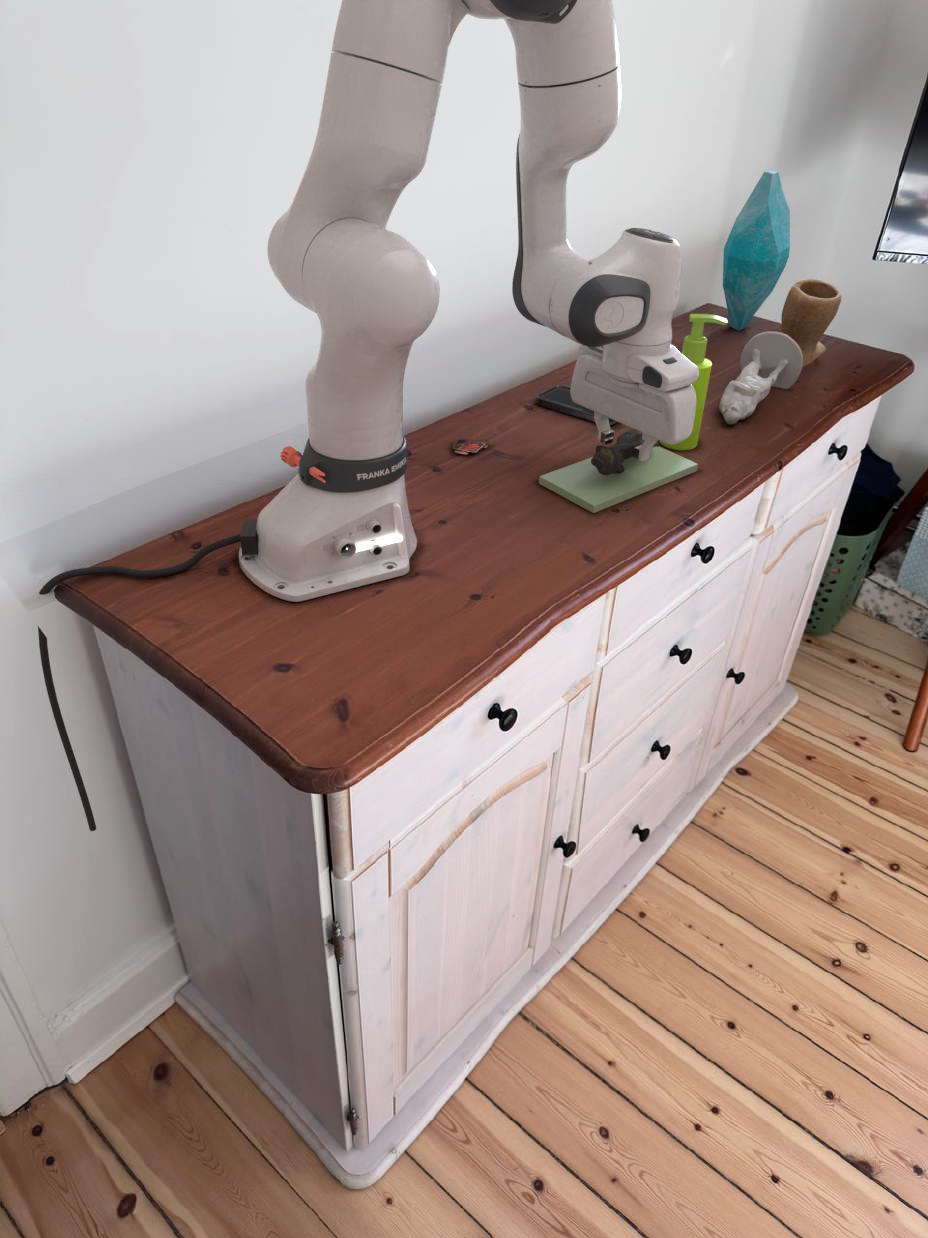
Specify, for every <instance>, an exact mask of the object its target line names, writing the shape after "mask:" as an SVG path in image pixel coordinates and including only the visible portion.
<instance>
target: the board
mask: <svg viewBox="0 0 928 1238" xmlns="http://www.w3.org/2000/svg"><path fill="white" fill-rule="evenodd" d="M592 458H593V456H591V457H588V458H585V459H584V460H580V461H578V462H575V463H573V464H569V465H567V466H564V467H561V468H559V469H556V470H553V471H550V472H547V473H544V474H542V475H539V476H538V478H539V479H538V484H539V485H540V486H543V487H544V488H546V489H548V490H550V491H552V492H554V493H555V494H557V495H559V496H561V497H563V498H564V499H566V500H568V501H570V502H572V503H574V504H576V505H578V507H581V508H583V509H585V510H586V511H589V512H590V513H592V514H595V513H598V512H600V511H603V510H605V509H607V508H611V507H612V506H615V505H617V504H620V503H622V502H625V501H627V500H630V499H632V498H635V497H637V496H639V495H642V494H645V493H646V492H649V491H652V490H654V489H656V488H659V487H662V486H664V485H667V484H669V483H671V482H674V481H677V480H678V479H679V480H680V479H681V478H684V477H686V476H688V475H691V474H694V473H696V472H698V467H699V464H698V463H697V462H694V461H692V460H691V459H688V458H686V457H683V456H681V455H679V454H678V453H675V452H672V451H670V450H668V449H667V448H664V447H662V446H659V447H656V446H655V447H652V448H651V449H650V456H649V458H648V460H646V461H643V462H642V461H639V460H637V459H635V458H634V457H631V458H629V459H626V460H624V461H623V463H622V465H623V467H624V469H625V470H624V472H622V473H619V474H617V473H615V474H613V473H612V474H609V475H602V474H601V473H599V472H598V470H597V468H596V467H595V466H594V465H592V464H591V459H592Z"/></svg>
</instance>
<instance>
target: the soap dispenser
mask: <svg viewBox="0 0 928 1238" xmlns="http://www.w3.org/2000/svg"><path fill="white" fill-rule="evenodd" d="M689 323H692V324H691V325H692V326H691V330H690V333H689V334H688V335H686V336H684V339H683V344H682V345H683V346H682V350H681V354H682V355H684V356H685V357H686V358H687V359H688V360H689V361H691V362H692V363H693V364H694V365H696V366H697V368H698V369H699V376H698V379H697V381H696V382H694V383H692V384H691V385H692V386H693V388H694V390H695V393H696V410H695V418H694V424H693V429H692V433H691V435H690V436H689V437H688V438H687V439H686V440H684V441H682V442H679V443H676V444H673V445H669V444H667V443H665V442H662V441H660V440H659V444H661V445H662V446H663V447H665V448H666V449H670V450H674V451H690V450H694V449H695V448H696V447H697V446H698V442H699V438H700V437H699V436H700V431H701V425H702V420H703V415H704V409H705V405H706V399H707V395H708V394H707V393H708V388H709V382H710V378H711V372H712V366H713V363H712V361H711V360H710V359H708V358H705V357H706V351H707V346H708V338H707V337H705V335H703V334H704V330H705V323H713V324H717V325H721V326H726V325H728V319H727V318H726V317H723V316H720V315H716V314H709V313H690V314H689Z"/></svg>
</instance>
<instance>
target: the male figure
mask: <svg viewBox="0 0 928 1238" xmlns="http://www.w3.org/2000/svg"><path fill="white" fill-rule="evenodd" d="M802 364H803V355H802V352H801V349H800V347H799V346H798V344H797V343H796V342H795V341H794V340H793V339H792V338H791V337H789V336H788V335H786V334H784V333H781V331H780V332H779V331H771V330H770V331H769V330H768V331H762V332H760V333H757V334H755V335H754V336H753V337H751V338H750V339H749V340H748V341H747V342H746V344H745V346H744V348H743V349H742V352H741V355H740V358H739V365H740V371H741V372H740V374H739V375H738V376H737V377H736V378H735V380H730V381H729V383H728V384H727V386H726V387H725V389H724V391H723V393H722V396H721V398H720V400H719V401H720V402H719V407H718V408H719V411H720V413H721V415H722V416H723V418H724V421H725V423H726V424H727V425H735V424H737V423H738V421H740V420H745V419H746V418H749V417H750V416H751V415H752V414H753V413H754V412H755V410H756V407H757V406H758V403H760V402H762V401H763V400H765V398H766V397H767V396H768V395H769V394H770V392H771V387H774V388H778V389H779V388H780V389H783V390H789V389H790V388H791V387H793V385H794V384H795V383H796V382H797V380H798V379H799V377H800V375H801V372H802V369H803V367H802Z"/></svg>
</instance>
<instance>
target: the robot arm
mask: <svg viewBox="0 0 928 1238" xmlns="http://www.w3.org/2000/svg"><path fill="white" fill-rule="evenodd" d="M467 15H468V16H471V17H473V18H476V19H479V20H480V19H481V20H503V21H504V22H505V24H506V26H507V27H508V29H509V32H510V34H511V37H512V40H513V43H514V47H515V64H516V65H515V66H516V76H517V86H518V96H519V107H520V127H519V128H520V130H519V134H518V138H517V144H516V152H515V153H516V154H515V181H516V182H515V183H516V205H517V209H516V210H517V211H516V212H517V232H518V233H517V234H518V235H517V236H518V237H517V238H518V247H517V254H516V255H517V256H516V261H515V265H514V267H515V268H514V270H513V271H514V272H513V276H512V283H511V286H512V287H511V293H512V299H513V302H514V305H515V307H516V309H517V311H518V313H519V314H520V315H521V316H522V317H523V318H525V319H526V320H527V321H529V322H532V323H534V324H537V325H540V326H542V327H545V328H548V329H550V330H551V331H552V332H553V331H554V332H555V333H557V334H559V335H560V336H563V337H564V338H568V339H569V340H571V341H573V342H575V343H577V344H579V347H578V352H577V360H576V362H575V365H574V368H573V373H572V378H571V383H570V388H571V389H570V395H571V398H572V400H573V402H575V403H577V404H579V405H581V406H583V407H586V408H588V409H590V410H592V411H595V412H594V419H595V422H594V423H595V426H596V429H597V431H598V434H597V441H598V442H599V443H601V444H604V446H607V445H608V444H609V445H610V444H612V443H613V442H614V436H615V430H613V429H611V426H610V425H609V420H608V418H611V419H613V420H615V421H617V423H619V424H621V425H624V426H626V427H629V428H630V429H632V430H637V431H638V432H639V433H641V435H642V439H643V440H645V441H644V443H643V444H642V445H640V446H637V447H635V449H634V453H635V454H634V456H633V457H634V458H635V459H637V460H639V461H642V462H643V461H646V460H648V458H649V456H650V449H651V448H652V447H653V446H654V444H655V443H656V442H657V441H658V442H660V441H662V442H665V443H667V444H669V445H673V444H676V443H679V442H682V441H684V440H686V439H687V438H688V437H689V436H690V435H691V433H692V429H693V424H694V418H695V410H696V393H695V390H694V388H693V386H692V385H691V384H692V383H694V382H696V381H697V379H698V376H699V369H698V368H697V366H696V365H694V364H693V363H692V362H691V361H689V360H688V359H687V358H686V357H685V356H684V355H682V352H681V351H680V350H678V348H676V346H675V345H673V343H672V340H673V328H672V322H673V321H672V320H673V316H674V314H675V312H676V309H677V306H678V302H679V297H680V288H681V282H682V281H681V280H682V268H683V267H682V266H683V263H682V261H683V260H682V259H683V257H682V249H681V245H680V243H679V242H678V241H677V239H676V238H674V237H673V236H670V235H668V234H666V233H663V232H659V231H655V230H652V229H648V228H641V227H631V228H627V229H624V230H623V231H622V233H621V236H620V237H619V238H618V240H617V241H616V242H615V243H614V244H613V245H612V246H611V247H610V248H608V249H607V250H606V251H604V252H603V253H601V254H600V255H598V256H596V257H594V258H592V259H588V258H585V257H582V256H580V255H578V254H577V252H576V251H575V250H574V249H573V247H572V245H571V244H570V242H569V239H568V236H567V184H568V183H567V182H568V177H569V173H570V171H571V169H572V167H573V166H574V165H575V164H577V163H578V162H580V161H582V160H585V159H586V158H589V157H591V156H593V155H594V154H595V153H597V152H598V151H599V150H600V149H601V148H603V146H604V145H605V144H606V143H607V142H608V140H609V139H610V138H611V137H612V135H613V133H614V131H615V130H616V127H617V126H618V122H619V118H620V112H621V102H622V84H621V83H622V82H621V64H620V62H621V61H620V49H619V40H618V30H617V23H616V16H615V15H616V14H615V9H614V4H613V0H341V4H340V7H339V12H338V17H337V21H336V26H335V30H334V35H333V41H332V47H331V53H330V56H329V57H330V58H329V63H328V70H327V77H326V81H325V86H324V87H325V88H324V94H323V99H322V104H321V111H320V117H319V121H318V122H319V123H318V128H317V131H316V135H315V136H316V137H315V140H314V144H313V146H312V150H311V153H310V157H309V160H308V162H307V165H306V168H305V170H304V173H303V176H302V178H301V181H300V183H299V185H298V188H297V190H296V192H295V195H294V198H293V200H292V202H291V204H290V206H289V208H288V209H287V210H286V211H285V212H284V213H282V215H281V216H279V218H278V219H277V220H276V222H275V223H274V225H273V226H272V228H271V231H270V234H269V236H268V240H267V249H266V250H267V261H268V263H269V266H270V269H271V271H272V273H273V275H274V276H275V278H276V280H277V281H278V283H279V284H280V286H281V287H282V288H283V289H284V290H285V292H286V293H287V295H288V296H290V298H291V299H293V300H294V301H295V302H296V303H298V304H300V305H301V306H303V307H304V308H306V309H308V310H309V311H310V312H311V311H312V312H313V313H314V314H316V315H317V318H318V321H319V324H320V330H321V332H320V333H321V335H320V336H321V337H320V343H319V351H318V356H317V359H316V363H315V364H314V365H313V366H312V367H311V368H310V370H309V371H308V373H307V375H306V377H305V383H304V385H305V397H306V398H305V401H306V411H307V425H308V438H307V440H306V443H305V446H304V449H303V452H302V453H301V452H300V451H298V450H296V449H295V448H294V447H293V446H290V445H288V446H284V447H283V448H282V450H281V451H280V456H279V457H280V460H281V461H282V462H283V463H285V464H287V465H288V466H289V467H290V468H296V467H298V470H297V474H296V475H295V476H294V477H293V478H292V479H291V480H290V481H289V482H288V483H287V484H286V485H285V487H283V488H282V489H281V490H280V491H279V492H278V494H276V496H274V497H273V499H271V500H270V501H269V502H268V503H267V504H266V505H265V506H264V507H263V508H262V509H261V510H260V512H259V513H258V517H257V519H255V518H254V519H253V518H251V519H244V520H243V524H242V527H241V531H240V533H238V534H235V535H232V536H229V537H225V538H222V539H219V540H216V541H214V542H212V543H210V544H208V545H205V546H204V547H202V548H201V549H200V550H198V551H197V552H196V553H195V554H194V555H192V557H191V558H190V559H188V560H186V561H184V562H182V563H179V564H177V565H173V566H169V567H165V568H164V567H163V568H157V569H156V568H155V569H134V568H128V567H124V566H117V565H106V566H105V565H104V566H92V567H82V568H75V569H70V570H66V571H63V572H61V573H59V574H57V575H55V576H53V577H52V578H51V579H49V580H48V581H47V582H46V583H45V584H44V585H43V586H42V588H41V589H40V590H39V593H38V594H39V595H47V594H49V593H50V592H51V591H52V590H53V589H54V588H56V586H58V585H59V584H60V583H62V582H64V581H67V580H69V579H73V578H77V577H84V576H94V575H95V576H96V575H105V574H108V575H109V574H115V575H116V574H117V575H121V576H126V577H131V578H133V577H134V578H139V579H140V578H141V579H143V578H158V577H159V578H160V577H166V576H172V575H176V574H179V573H182V572H184V571H187V570H189V569H191V568H193V567H194V566H195V565H197V564H198V563H199V562H200V561H202V559H203V558H205V556H207V555H208V554H210V553H212V552H214V551H216V550H219V549H221V548H224V547H227V546H230V545H234V544H237V543H239V542H240V548H239V551H238V565H239V567H240V569H241V571H242V572H243V573H244V575H245V576H246V577H247V578H248V579H249V580H250V581H251V582H252V583H253V584H254V585H255V586H257V587H258V588H260V589H261V590H262V591H263V592H266V593H267V594H269V595H271V596H273V597H275V598H278V599H281V600H284V601H288V602H293V603H298V602H304V601H308V600H312V599H316V598H321V597H323V596H327V595H330V594H335V593H339V592H343V591H347V590H352V589H354V588H359V587H364V586H367V585H370V584H375V583H379V582H383V581H387V580H391V579H394V578H398V577H402V576H405V575H407V574H408V573H409V572H410V569H411V567H410V559H411V557H412V556H413V554H414V553H415V551H416V550H417V546H418V538H417V535H416V533H415V529H414V527H413V523H412V519H411V515H410V510H409V504H408V503H409V502H408V497H407V491H406V479H405V478H406V477H405V475H406V471H408V470H407V469H408V449H407V439H406V437H405V436H404V409H403V408H404V405H403V404H404V381H405V380H404V379H405V374H406V368H407V363H408V359H409V357H410V353H411V350H412V347H413V344H414V342H415V341H416V340H417V339H418V338H420V337H421V336H422V335H423V334H424V333H425V332H426V331H427V329H428V328H429V327H430V326H431V324H432V322H433V321H434V319H435V316H436V314H437V311H438V307H439V303H440V298H441V297H440V295H441V294H440V292H441V290H440V282H439V278H438V275H437V272H436V270H435V268H434V266H433V264H432V263H431V261H430V260H429V259H427V257H426V256H424V254H423V253H421V251H420V250H418V248H416V247H415V246H414V245H413V244H412V243H411V242H410V241H409V240H408V239H407V238H405V237H404V236H402V235H401V234H398V233H396V232H394V231H391V230H389V229H387V225H388V223H389V219H390V218H391V215H392V212H393V210H394V208H395V206H396V204H397V202H398V200H399V198H400V196H401V194H402V193H403V192H404V190H405V188H406V187H407V186H408V185H409V184H410V183H411V182H413V181H414V180H415V179H416V178H417V177H418V176H420V174H421V173H422V171H423V169H424V168H425V166H426V162H427V157H428V153H429V148H430V143H431V139H432V134H433V129H434V125H435V120H436V114H437V111H438V105H439V102H440V97H441V91H442V87H443V85H442V84H443V82H444V76H445V71H446V66H447V60H448V54H449V47H450V45H451V42H452V39H453V37H454V34H455V33H456V31H457V28H458V27H459V25H460V23H461V22H462V21H463V19H465V17H466V16H467ZM37 634H38V635H37V636H38V647H39V655H40V662H41V668H42V673H43V674H42V675H43V678H44V679H43V680H44V684H45V688H46V693H47V696H48V701H49V704H50V708H51V711H52V715H53V718H54V721H55V724H56V728H57V732H58V734H59V738H60V740H61V743H62V746H63V749H64V752H65V756H66V758H67V761H68V764H69V767H70V770H71V773H72V776H73V779H74V782H75V786H76V788H77V792H78V795H79V798H80V801H81V804H82V808H83V810H84V815H85V819H86V822H87V825H88V829H89V831H90V832H95V831H96V830H97V825H96V821H95V817H94V814H93V810H92V807H91V803H90V800H89V796H88V793H87V789H86V786H85V783H84V781H83V777H82V774H81V770H80V768H79V765H78V762H77V759H76V756H75V753H74V750H73V747H72V744H71V741H70V738H69V735H68V732H67V728H66V724H65V721H64V718H63V714H62V712H61V707H60V704H59V702H58V697H57V693H56V688H55V684H54V679H53V673H52V668H51V663H50V661H51V660H50V654H49V647H48V637H47V636H46V635H45V633H44V632H43V630H42V629H41V627H39V625H37Z"/></svg>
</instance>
